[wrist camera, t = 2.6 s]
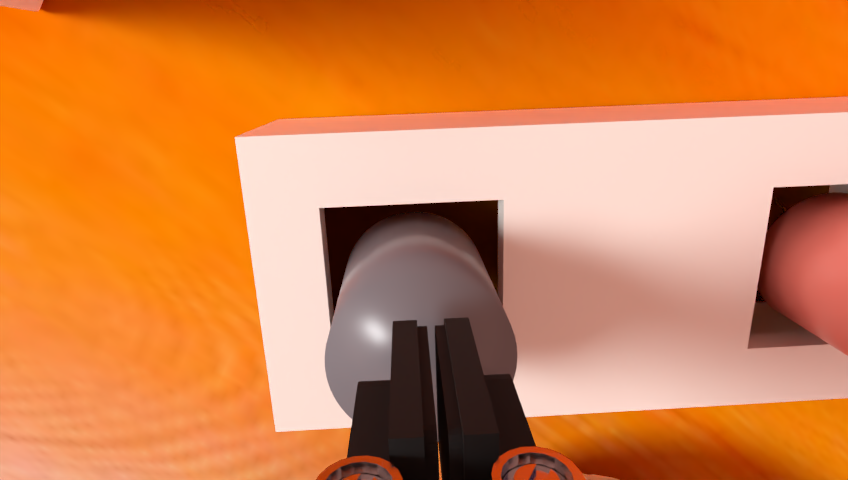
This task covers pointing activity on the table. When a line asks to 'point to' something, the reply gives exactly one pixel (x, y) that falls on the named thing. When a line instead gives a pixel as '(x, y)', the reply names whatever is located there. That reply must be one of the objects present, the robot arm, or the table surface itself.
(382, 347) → the grey rounded cylinder
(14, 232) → the table surface
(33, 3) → the milk carton
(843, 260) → the red plunger
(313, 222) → the box
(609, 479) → the cereal bowl
